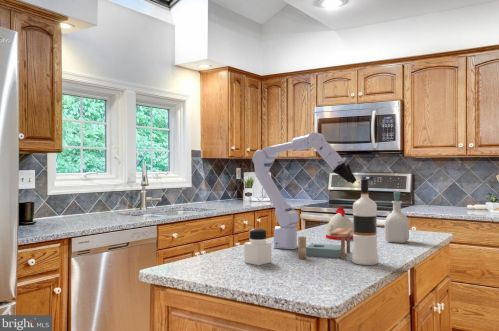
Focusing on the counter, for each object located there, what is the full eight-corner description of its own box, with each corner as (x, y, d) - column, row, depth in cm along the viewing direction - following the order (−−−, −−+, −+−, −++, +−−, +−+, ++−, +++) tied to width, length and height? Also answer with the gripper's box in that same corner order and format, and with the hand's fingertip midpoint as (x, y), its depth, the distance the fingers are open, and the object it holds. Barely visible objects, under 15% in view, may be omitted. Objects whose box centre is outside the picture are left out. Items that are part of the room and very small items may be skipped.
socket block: (305, 255, 167) (305, 247, 167) (312, 250, 177) (312, 243, 177) (339, 257, 162) (339, 250, 162) (344, 252, 172) (344, 245, 172)
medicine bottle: (271, 262, 156) (271, 229, 156) (258, 265, 150) (258, 231, 150) (257, 259, 161) (257, 227, 161) (243, 262, 155) (243, 229, 155)
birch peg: (297, 258, 161) (297, 237, 161) (299, 257, 164) (299, 236, 164) (304, 259, 160) (304, 237, 160) (307, 257, 163) (306, 236, 163)
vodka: (349, 260, 159) (348, 178, 159) (374, 260, 159) (374, 178, 159) (355, 266, 149) (354, 179, 149) (381, 265, 149) (381, 179, 149)
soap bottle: (406, 244, 190) (405, 192, 190) (383, 242, 195) (383, 191, 195) (409, 240, 198) (409, 191, 198) (388, 239, 203) (388, 190, 203)
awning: (330, 258, 162) (330, 233, 162) (337, 251, 175) (337, 227, 175) (346, 259, 159) (346, 233, 159) (352, 252, 172) (352, 228, 172)
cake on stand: (333, 240, 200) (332, 208, 200) (321, 236, 213) (321, 205, 213) (360, 239, 203) (360, 207, 203) (347, 234, 216) (347, 205, 216)
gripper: (333, 146, 166) (357, 173, 162) (341, 151, 180) (363, 176, 175) (320, 159, 168) (343, 185, 163) (328, 163, 181) (350, 187, 177)
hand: (352, 181), depth 169 cm, fingers open, 7 cm apart
